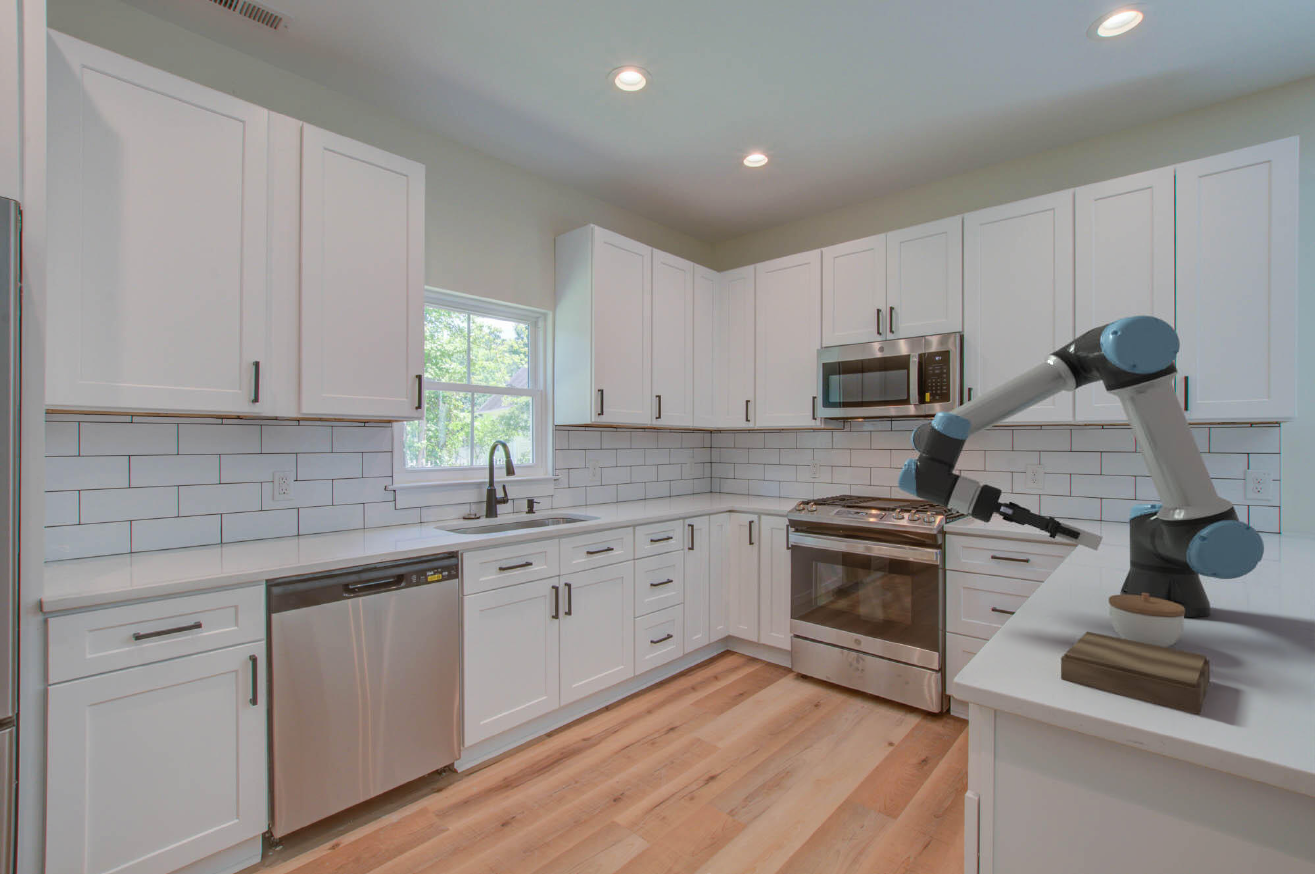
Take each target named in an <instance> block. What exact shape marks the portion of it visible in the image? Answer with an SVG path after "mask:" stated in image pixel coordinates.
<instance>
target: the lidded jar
mask: <svg viewBox="0 0 1315 874" xmlns="http://www.w3.org/2000/svg"><path fill="white" fill-rule="evenodd" d="M1108 604H1109V616H1110V621H1111V624H1112V626H1113V628H1114V630H1115V632H1116V633H1117V634H1118V635H1119V636H1120V638H1122V639H1126V640H1131V641H1136V642H1141V643H1146V644H1151V645H1156V646H1161V647H1166V648H1170V646H1172V645H1174V644H1175V643H1176V642H1178V640H1179V639H1180V638H1181V636H1182V633H1183V631H1184V625H1185V617H1184V614H1185V608H1184V607H1183V606H1181V605H1179V604H1177V603H1174V602H1171V601H1167V600H1163V599H1159V598H1153V597H1149V594H1148V593H1142V596H1139V595H1120V594H1114V595H1111V596H1109V597H1108Z"/></svg>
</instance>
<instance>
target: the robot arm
mask: <svg viewBox="0 0 1315 874" xmlns="http://www.w3.org/2000/svg"><path fill="white" fill-rule="evenodd" d="M1178 335H1179V334H1178V333H1177V331H1176V330H1175V329H1174V328H1173V326H1171V325H1170V324H1169V323H1168V322H1167V321H1166V320H1163V319H1161V318H1158V317H1156V316H1150V315H1144V314H1143V315H1133V316H1125V317H1124V318H1123V317H1122V318H1119V319H1117V320H1114V321H1112V322H1109V323H1106V324H1104V325H1100V326H1098V327H1094V328H1092V329H1090V330H1088V331H1086V332H1084V333H1083V334H1081V335H1079V336H1077V338H1074V339H1073V340H1071V341H1070V342H1069V343H1067V344H1065V345H1064V346H1062V347H1060V348H1059V349H1057V350H1055V351H1054V352H1052V353H1050V354H1047V355H1046V356H1045V357H1044V360H1043V363H1041V364H1040V363H1039V364H1038V365H1037V366H1034V367H1033V368H1030V369H1029V370H1027V371H1025V372H1023V373H1021V374H1019V375H1018V376H1015V377H1014V378H1011V379H1010V380H1008V381H1006V382H1004V383H1002V384H1000V385H998V386H996V387H995V388H992V389H990V390H989V391H987V392H985V393H983V394H981V395H979V396H977V397H975V398H973V399H971V400H969V401H968V402H965V403H964V404H962V405H960V406H958V407H957V408H954V409H952V410H950V411H948V412H945V411H938V412H936V414H935V415H934V418H933V419H932V420H931V421H930V422H926V423H923V424H921V425H919V426H917V427H916V428H915V429H914V430H913V431H912V434H911V436H910V442H911V445H912V448H914V449H915V451H916V452H918V453H919V455H918V456H917V458H915V459H913V458H907V460H906V461H905V462H904V464H903V467H902V469H901V470H900V473H899V476H898V480H897V486H898V489H899V490H901V491H903V492H904V493H907V494H909V495H912V496H915V497H916V498H920V499H921V500H925V501H928V502H930V503H933V504H935V505H939V506H941V507H944V508H947V509H950V510H951V512H952V514H957V512H959V513H961V514H964V515H968V514H970V516H971V518H972V519H976V520H979V521H981V522H984V523H987V524H988V523H990V522H991V519H992V516H993V515H994V513H997V514H998V515H999V516H1001V517H1002V519H1001V520H1003V521H1006V522H1009V523H1015V524H1018V525H1020V526H1025V525H1027V526H1031V527H1033V528H1036V529H1039V530H1040V531H1042V532H1045V533H1048V534H1049V535H1048V537H1049V538H1051V539H1056V537H1058V538H1061V539H1064V540H1066V541H1069V542H1072V543H1075V544H1077V545H1080V546H1083V547H1085V548H1088V549H1091V550H1094V551H1098V549H1099V547H1100V545H1101V543H1102V541H1103V536H1101V535H1098V534H1095V533H1093V532H1090V531H1088V530H1084V529H1081V528H1078V527H1076V526H1072V525H1070V524H1066V523H1064V522H1060V521H1059V520H1056V518H1055V517H1052V516H1049V517H1046V516H1044V515H1039V514H1037V513H1034V512H1031V509H1028V508H1025V507H1023V506H1020V505H1019V504H1017V503H1015V502H1012V501H1009V502H999V500H1000V498H1001V497H1002V496H1001V495H1002V493H1003V491H1002V490H1001V489H1000V488H998V487H995V486H992V485H989V484H986V483H985V484H983V485H981V482H980V481H978V480H975V479H973V478H969V477H967V476H963V475H961V474H957V473H954V470H955V468H956V465H957V462H958V461H959V458H960V456H961V453H962V452H963V449H964V446H965V444H966V442H967V440H968V439H970V438H972V437H973V436H975V435H977V434H980V433H982V432H983V431H986V430H988V429H989V428H991V427H993V426H995V425H997V424H999V423H1001V422H1003V421H1005V420H1007V419H1009V418H1011V417H1013V416H1015V415H1018V414H1019V413H1021V412H1024V411H1025V410H1027V409H1029V408H1031V407H1033V406H1035V405H1037V404H1039V403H1041V402H1043V401H1045V400H1047V399H1049V398H1051V397H1053V396H1056V395H1057V394H1060V393H1061V392H1063V391H1065V392H1072V391H1075V390H1077V389H1079V388H1081V387H1083V386H1086V385H1089V384H1092V383H1096V382H1100V381H1102V384H1103V385H1104V388H1105V391H1106V392H1107V393H1108V394H1110V395H1113V396H1116V397H1118V399H1119V400H1120V403H1121V406H1122V409H1123V411H1124V413H1125V415H1126V419H1127V421H1128V423H1129V426H1130V427H1131V430H1132V433H1133V435H1134V438H1135V440H1136V443H1137V445H1138V447H1139V449H1140V453H1141V455H1142V458H1143V460H1144V462H1145V465H1146V468H1147V470H1148V472H1149V475H1150V477H1151V480H1152V482H1153V484H1154V487H1155V489H1156V493H1157V495H1158V497H1159V499H1160V502H1161V503H1159V504H1158V503H1153V504H1151V503H1149V504H1148V503H1146V504H1145V503H1144V504H1134V505H1132V507H1131V508H1130V510H1129V511H1130V512H1129V518H1128V522H1129V570H1128V572H1127V575H1126V576H1125V580H1124V582H1123V583H1122V587H1121V588H1120V591H1119V595H1139V596H1142V593H1148V594H1149V597H1153V598H1159V599H1163V600H1167V601H1171V602H1174V603H1177V604H1179V605H1181V606H1183V607H1184V608H1185V614H1184V618H1202V617H1208V616H1209V615H1211V603H1210V600H1209V598H1208V595H1207V593H1206V590H1205V587H1204V586H1203V583H1202V581H1201V578H1200V576H1204V577H1209V578H1214V579H1219V580H1233V579H1237V578H1241V577H1244V576H1247V575H1248V574H1249V573H1251V572H1253V570H1255V569H1256V568H1257V565H1258V564H1259V562H1261V561H1262V558H1263V556H1264V552H1265V545H1264V541H1263V538H1262V535H1260V533H1259V532H1258V531H1257V530H1256V529H1255V528H1254V527H1252V525H1250V524H1248V523H1245V522H1244V521H1241V520H1240V519H1239V516H1238V514H1237V512H1236V509H1235V506H1234V505H1233V503H1232V501H1230V500H1227V499H1225V498H1223V497H1222V496H1221V497H1220V496H1219V495H1218V493H1217V491H1216V490H1217V489H1216V488H1215V485H1214V483H1213V481H1212V479H1211V475H1210V473H1209V471H1208V468H1207V466H1206V463H1205V461H1204V459H1203V457H1202V455H1201V452H1200V450H1199V447H1198V445H1197V442H1196V439H1195V437H1194V434H1193V432H1192V430H1191V428H1190V424H1189V423H1188V420H1187V417H1186V415H1185V412H1184V411H1183V407H1182V405H1181V403H1180V401H1179V397H1178V395H1177V393H1176V391H1175V389H1174V386H1173V380H1174V379H1175V377H1176V376H1177V374H1178V373H1179V372H1178V370H1177V369H1178V368H1177V366H1176V364H1175V362H1174V361H1175V360H1176V358H1177V354H1178V353H1179V352H1180V347H1181V345H1180V338H1179V336H1178Z"/></svg>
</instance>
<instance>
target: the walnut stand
mask: <svg viewBox="0 0 1315 874" xmlns="http://www.w3.org/2000/svg"><path fill="white" fill-rule="evenodd" d="M1206 657H1207V656H1206V654H1205V655H1204V654H1201V653H1194V652H1191V651H1185V650H1181V649H1175V648H1170V647H1168V648H1166V647H1161V646H1156V645H1151V644H1146V643H1141V642H1136V641H1131V640H1126V639H1123V638H1122V637H1116V636H1111V635H1107V634H1102V633H1095V632H1092V631H1086V632H1085V633H1084V634H1083V635H1082V636H1081V637H1080V638H1079V639H1078V640H1077V641H1076V642H1075V643H1074V644H1073V645H1072V646H1071V647H1070V648H1069V649H1068V650H1067V651H1066V652H1065V653H1064V654H1063V655H1062V656H1060V665H1061V666H1060V679H1061V680H1063V681H1068V682H1071V683H1074V684H1079V685H1083V686H1086V687H1090V688H1094V689H1097V690H1102V691H1106V692H1109V693H1113V694H1118V695H1122V696H1125V697H1129V698H1133V699H1137V700H1141V701H1143V702H1148V703H1152V704H1156V705H1159V706H1164V707H1167V708H1172V709H1175V710H1180V711H1183V712H1186V713H1190V714H1195V715H1200V713H1201V711H1202V707H1203V704H1204V701H1205V699H1206V698H1205V697H1206V695H1207V691H1208V688H1209V685H1210V684H1209V683H1210V680H1211V679H1210V678H1211V676H1210V671H1211V670H1210V669H1211V668H1210V658H1209V659H1208V658H1206ZM1208 684H1209V685H1208Z"/></svg>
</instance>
